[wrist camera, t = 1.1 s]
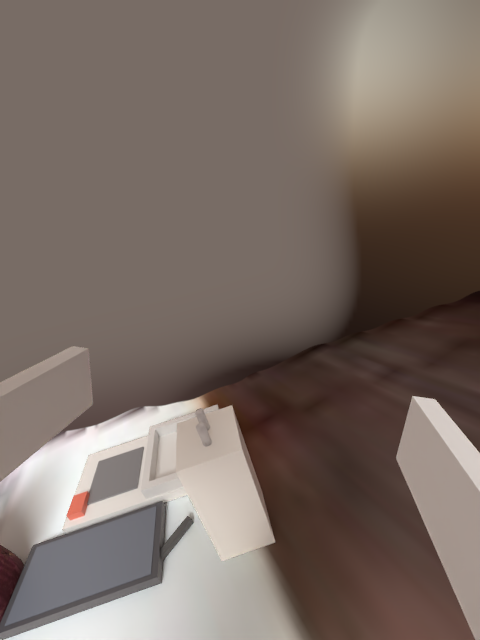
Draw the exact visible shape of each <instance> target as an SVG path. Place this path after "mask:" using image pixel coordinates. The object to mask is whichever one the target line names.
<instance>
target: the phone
mask: <svg viewBox="0 0 480 640" xmlns="http://www.w3.org/2000/svg"><path fill="white" fill-rule="evenodd" d="M165 512H166V506H165V505H164V503H163V501H161V502H158V503H155V504H153V505H150V506H147V507H144V508H141V509H138V510H135V511H132V512H129V513H126V514H123V515H120V516H118V517H115V518H112V519H109V520H106V521H103V522H100V523H97V524H94V525H91V526H88V527H85V528H83V529H80V530H77V531H74V532H71V533H68V534H65V535H62V536H59V537H56V538H53V539H51V540H48V541H45V542H42V543H39V544H36V545H33V547H32V549H31V552H30V554H29V556H28V559H27V561H26V563H25V566H24V568H23V570H22V573H21V575H20V578H19V580H18V582H17V585H16V587H15V589H14V592H13V594H12V596H11V599H10V601H9V604H8V606H7V608H6V611H5V613H4V615H3V618H2V620H1V623H0V639H2V640H4V639H6V638H9V637H12V636H15V635H18V634H20V633H23V632H26V631H29V630H32V629H34V628H37V627H40V626H43V625H45V624H48V623H51V622H54V621H57V620H59V619H62V618H65V617H68V616H71V615H73V614H76V613H79V612H82V611H85V610H87V609H90V608H93V607H96V606H99V605H101V604H104V603H107V602H110V601H112V600H115V599H118V598H121V597H124V596H126V595H129V594H132V593H135V592H138V591H140V590H143V589H146V588H149V587H152V586H154V585H157V584H160V583H162V568H163V560H162V559H161V548H162V547H163V545H164V530H165Z"/></svg>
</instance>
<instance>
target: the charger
mask: <svg viewBox="0 0 480 640" xmlns="http://www.w3.org/2000/svg"><path fill="white" fill-rule="evenodd" d="M195 415H196V417H195V418H192V419H189V420H185V421H182V422H179V423H177V442H176V474H177V475H178V477H179V479H180V481H181V483H182V485H183V487H184V489H185V491H186V493H187V495H188V497H189V499H190V501H191V503H192V505H193V506H194V508H195V510H196V512H197V514H198V516H199V518H200V520H201V522H202V524H203V526H204V528H205V530H206V532H207V534H208V535H209V537H210V539H211V541H212V543H213V545H214V547H215V549H216V551H217V553H218V555H219V557H220V559H221V561H225V560H228V559H230V558H233V557H236V556H239V555H242V554H244V553H247V552H250V551H253V550H256V549H258V548H261V547H264V546H267V545H270V544H272V543H275V539H274V535H273V531H272V527H271V524H270V520H269V516H268V512H267V508H266V505H265V501H264V497H263V493H262V490H261V487H260V484H259V481H258V479H257V476H256V473H255V470H254V467H253V464H252V461H251V458H250V456H249V453H248V450H247V447H246V444H245V441H244V438H243V435H242V433H241V430H240V427H239V424H238V421H237V418H236V415H235V412H234V410H233V407H232V405H231V406H228V407H225V408H222V409H219V410H216V411H213V412H210V413H207V414H205V413H204V410H203V409H198V410H196V412H195Z"/></svg>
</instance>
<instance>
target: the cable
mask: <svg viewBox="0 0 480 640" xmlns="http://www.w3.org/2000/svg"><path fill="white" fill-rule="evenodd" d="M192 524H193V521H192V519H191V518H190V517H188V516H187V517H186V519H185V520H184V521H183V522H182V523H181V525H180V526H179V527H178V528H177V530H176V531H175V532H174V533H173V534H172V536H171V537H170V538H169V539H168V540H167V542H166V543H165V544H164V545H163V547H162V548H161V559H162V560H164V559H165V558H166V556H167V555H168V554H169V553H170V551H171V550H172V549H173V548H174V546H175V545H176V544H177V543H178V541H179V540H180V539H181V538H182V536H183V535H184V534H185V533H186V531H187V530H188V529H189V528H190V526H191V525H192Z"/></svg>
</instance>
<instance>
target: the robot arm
mask: <svg viewBox="0 0 480 640" xmlns="http://www.w3.org/2000/svg"><path fill="white" fill-rule="evenodd" d="M92 405H93V398H92V386H91V374H90V361H89V349H87V348H81V347H74V346H72V347H70V348H68V349H66V350H64V351H62V352H60V353H58V354H56V355H54V356H52V357H51V358H48V359H46V360H44V361H42V362H41V363H38V364H36V365H34V366H32V367H30V368H28V369H26V370H24V371H22V372H20V373H19V374H16V375H14V376H12V377H10V378H8V379H6V380H4V381H3V382H0V481H2V480H3V479H4V478H5V477H6V476H8V475H9V474H10V473H11V472H12V471H14V470H15V469H16V468H17V467H18V466H20V465H21V464H22V463H23V462H24V461H26V460H27V459H28V458H29V457H30V456H32V455H33V454H34V453H35V452H36V451H38V450H39V449H40V448H41V447H42V446H44V445H45V444H46V443H47V442H48V441H50V440H51V439H52V438H53V437H54V436H56V435H57V434H58V433H59V432H60V431H62V430H63V429H64V428H65V427H66V426H67V425H69V424H70V423H71V422H72V421H73V420H75V419H76V418H77V417H78V416H79V415H81V414H82V413H83V412H84V411H85V410H87V409H88V408H89V407H90V406H92ZM396 459H397V461H398V464H399V466H400V468H401V471H402V473H403V475H404V478H405V480H406V482H407V484H408V487H409V489H410V491H411V494H412V496H413V498H414V500H415V503H416V505H417V507H418V510H419V512H420V514H421V516H422V519H423V521H424V523H425V526H426V528H427V530H428V533H429V535H430V537H431V539H432V542H433V544H434V546H435V549H436V551H437V553H438V555H439V558H440V560H441V562H442V565H443V567H444V569H445V571H446V574H447V576H448V578H449V581H450V583H451V585H452V588H453V590H454V592H455V594H456V597H457V599H458V601H459V604H460V606H461V608H462V610H463V613H464V615H465V617H466V620H467V622H468V624H469V626H470V629H471V631H472V633H473V636H474V638H475V640H480V453H479V452H478V451H477V449H476V448H475V447H474V446H473V445H472V443H471V442H470V441H469V440H468V439H467V437H466V436H465V435H464V434H463V432H462V431H461V430H460V429H459V428H458V426H457V425H456V424H455V423H454V422H453V420H452V419H451V418H450V417H449V416H448V414H447V413H446V412H445V411H444V409H443V408H442V407H441V406H440V405H439V403H438V402H437V401H436V400H435V399H429V398H422V397H415V396H412V400H411V404H410V407H409V411H408V415H407V419H406V422H405V426H404V430H403V434H402V437H401V441H400V445H399V449H398V453H397V456H396Z"/></svg>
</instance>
